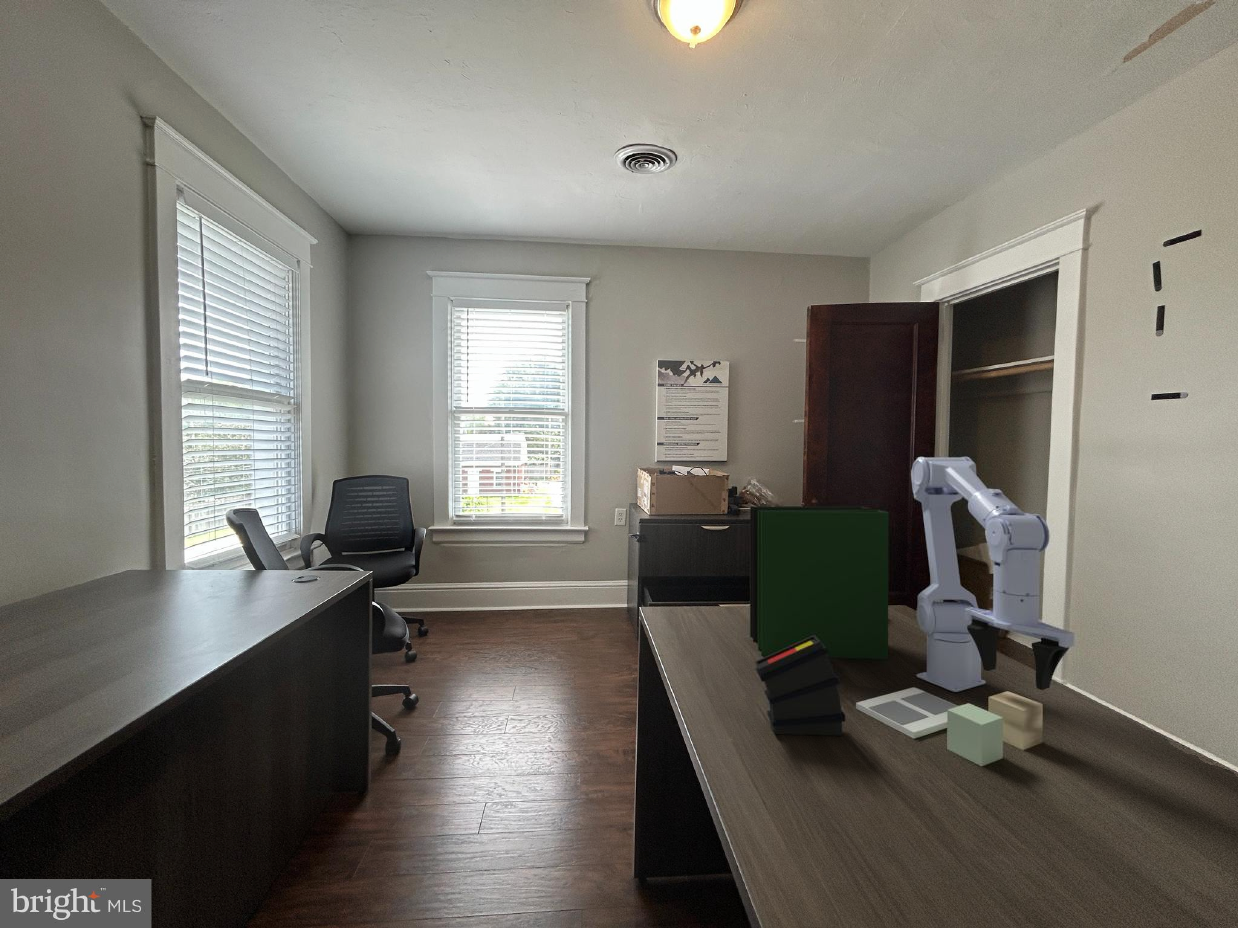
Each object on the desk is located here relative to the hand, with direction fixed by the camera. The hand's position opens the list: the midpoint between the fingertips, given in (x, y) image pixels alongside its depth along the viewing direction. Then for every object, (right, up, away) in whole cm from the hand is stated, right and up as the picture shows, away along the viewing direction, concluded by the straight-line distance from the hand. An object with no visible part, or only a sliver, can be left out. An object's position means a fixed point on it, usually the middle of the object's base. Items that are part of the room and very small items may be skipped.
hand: (1015, 678), depth 83 cm
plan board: (-11, -9, +8) cm, 17 cm away
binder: (-16, -9, +41) cm, 45 cm away
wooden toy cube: (0, -10, 0) cm, 10 cm away
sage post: (-9, -10, -4) cm, 14 cm away
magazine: (-33, -10, +3) cm, 34 cm away
